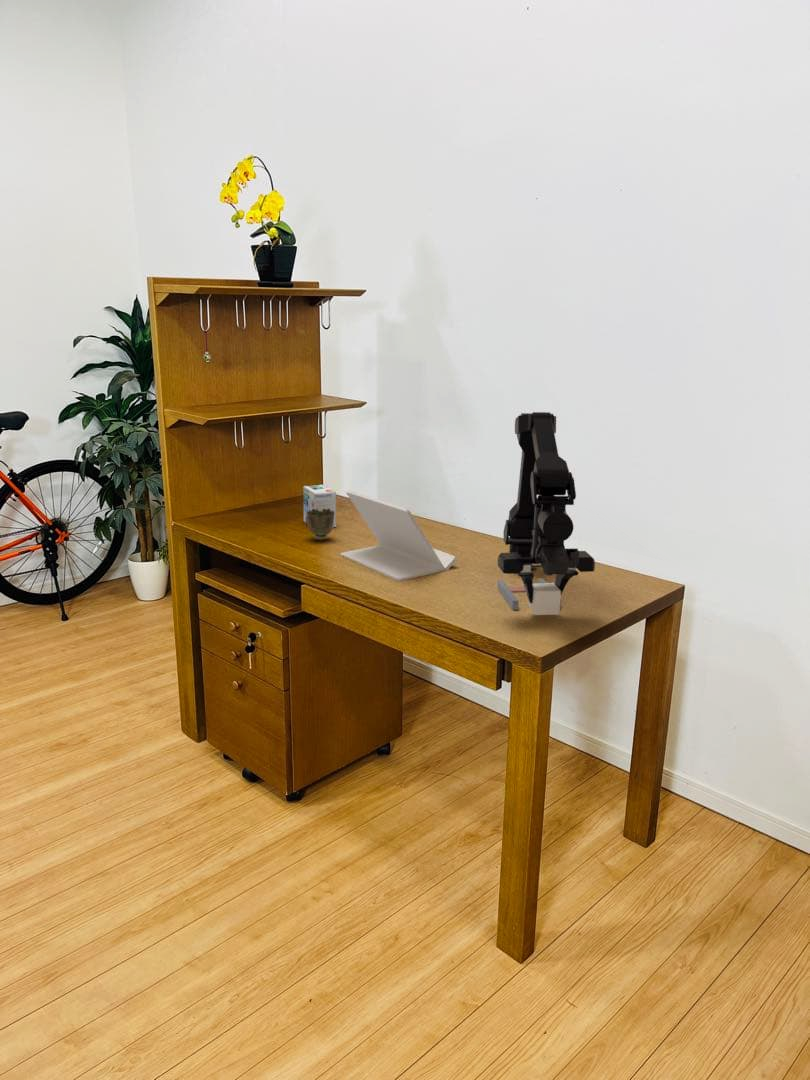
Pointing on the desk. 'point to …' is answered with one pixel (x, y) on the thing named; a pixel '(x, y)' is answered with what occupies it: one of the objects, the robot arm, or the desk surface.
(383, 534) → the tablet stand
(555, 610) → the cream block
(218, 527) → the desk surface
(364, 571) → the desk surface
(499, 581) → the u-shaped bracket
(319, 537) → the cup
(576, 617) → the desk surface
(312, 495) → the light bulb box
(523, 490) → the robot arm
